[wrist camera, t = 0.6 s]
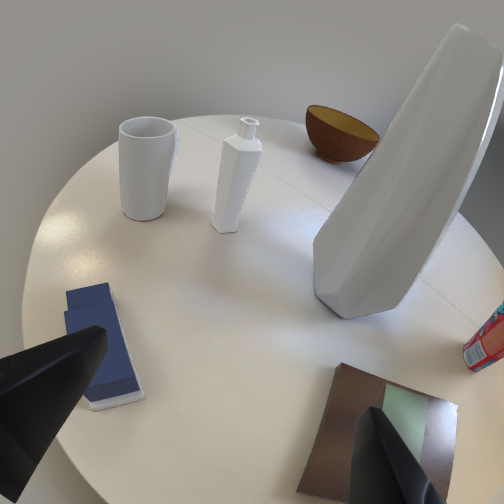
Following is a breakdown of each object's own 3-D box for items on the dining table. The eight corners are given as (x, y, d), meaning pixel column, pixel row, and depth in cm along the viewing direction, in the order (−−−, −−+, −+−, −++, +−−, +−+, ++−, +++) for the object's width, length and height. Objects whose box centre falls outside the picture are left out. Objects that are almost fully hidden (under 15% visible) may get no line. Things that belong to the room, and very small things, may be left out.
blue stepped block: (145, 398, 22) (140, 382, 18) (93, 411, 19) (77, 396, 16) (114, 298, 28) (108, 268, 24) (70, 308, 25) (58, 279, 22)
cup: (489, 353, 34) (539, 310, 26) (483, 390, 29) (543, 347, 20) (457, 322, 37) (505, 273, 29) (447, 357, 32) (507, 306, 24)
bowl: (289, 134, 71) (301, 99, 64) (349, 150, 74) (363, 119, 67) (302, 167, 58) (318, 124, 51) (373, 185, 62) (392, 149, 55)
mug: (144, 230, 35) (147, 143, 27) (110, 208, 37) (107, 127, 28) (190, 195, 43) (202, 120, 34) (156, 178, 44) (163, 107, 36)
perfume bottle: (229, 241, 38) (258, 133, 27) (202, 224, 39) (223, 118, 28) (247, 224, 41) (278, 125, 31) (222, 210, 42) (245, 111, 32)
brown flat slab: (436, 510, 16) (445, 509, 15) (296, 491, 18) (301, 492, 17) (451, 407, 26) (458, 403, 25) (336, 366, 28) (342, 361, 27)
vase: (336, 353, 30) (536, 53, 7) (282, 274, 36) (400, -6, 13) (397, 315, 35) (544, 100, 13) (348, 254, 42) (455, 44, 19)
